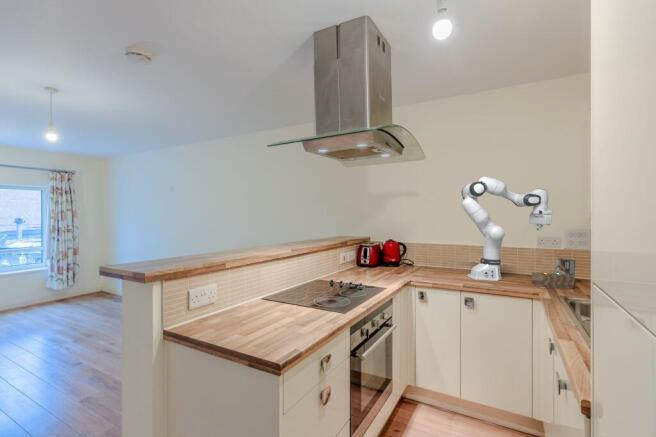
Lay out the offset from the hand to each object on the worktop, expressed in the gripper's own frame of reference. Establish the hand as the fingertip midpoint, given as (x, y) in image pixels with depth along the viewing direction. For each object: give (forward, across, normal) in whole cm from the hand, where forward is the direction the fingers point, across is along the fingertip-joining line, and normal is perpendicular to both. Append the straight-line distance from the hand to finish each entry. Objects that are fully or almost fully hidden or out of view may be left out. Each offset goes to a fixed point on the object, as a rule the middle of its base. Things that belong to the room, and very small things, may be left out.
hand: (538, 230), depth 223 cm
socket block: (+35, +22, -3) cm, 42 cm away
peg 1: (+35, +22, -7) cm, 42 cm away
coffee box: (+35, +10, +13) cm, 39 cm away
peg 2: (+35, +22, +1) cm, 41 cm away
